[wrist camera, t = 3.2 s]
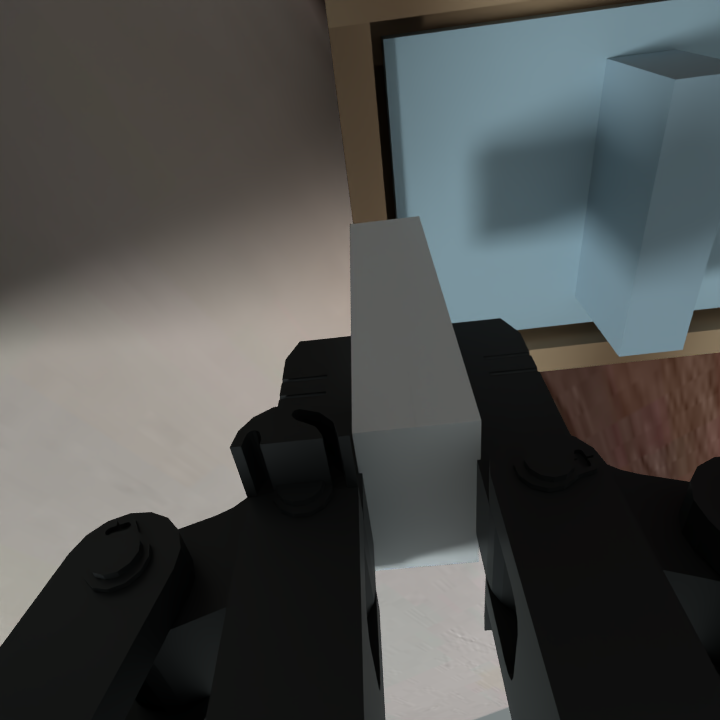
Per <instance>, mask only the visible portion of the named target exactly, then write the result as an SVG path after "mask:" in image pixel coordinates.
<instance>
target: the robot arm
mask: <svg viewBox="0 0 720 720" xmlns="http://www.w3.org/2000/svg"><path fill="white" fill-rule="evenodd" d="M350 280H351V336H347V337H338V338H329V339H319V340H310V341H301V342H299V343H298V345H297V346H296V347H295V348H294V350H293V351H292V352H291V354H290V355H289V356H288V357H287V359H286V360H285V367H284V373H283V379H282V380H283V383H282V385H281V391H280V400H279V403H278V407H273V408H271V409H269V410H267V411H265V412H263V413H261V414H259V415H257V416H255V417H253V418H252V419H251V420H250V421H249V422H248V423H247V424H246V425H244V426H243V427H242V428H241V429H240V430H239V431H238V433H237V435H236V437H235V438H234V440H233V442H232V444H231V446H230V449H231V452H232V455H233V458H234V461H235V463H236V466H237V469H238V472H239V475H240V478H241V480H242V483H243V486H244V489H245V492H246V495H247V498H246V499H245V500H243V501H242V502H240V503H239V504H238V505H236V506H235V507H233V508H231V509H229V510H227V511H225V512H223V513H221V514H219V515H216V516H214V517H211V518H208V519H205V520H203V521H200V522H197V523H195V524H192V525H189V526H186V527H184V528H181V529H177V528H176V527H175V526H174V524H173V523H172V522H171V521H170V520H169V519H168V518H167V517H164V516H161V515H158V514H155V513H152V512H146V513H130V514H127V515H125V516H122V517H119V518H116V519H113V520H111V521H108V522H106V523H105V524H103V525H102V526H100V527H99V528H97V529H95V530H94V531H92V532H91V533H89V534H88V535H86V536H85V537H84V538H83V540H82V541H81V542H80V543H79V544H78V545H77V546H76V547H75V548H74V549H73V550H72V551H71V552H70V553H69V554H68V556H67V557H66V558H65V560H64V561H63V562H62V564H61V565H60V567H59V568H58V569H57V571H56V572H55V573H54V575H53V576H52V577H51V579H50V580H49V581H48V583H47V584H46V586H45V587H44V588H43V590H42V591H41V592H40V594H39V595H38V596H37V598H36V599H35V600H34V602H33V603H32V605H31V606H30V607H29V609H28V610H27V611H26V613H25V614H24V615H23V617H22V618H21V619H20V621H19V622H18V624H17V625H16V626H15V628H14V629H13V630H12V632H11V633H10V634H9V636H8V637H7V638H6V640H5V641H4V643H3V644H2V645H1V647H0V720H385V704H384V686H383V667H382V649H381V630H380V611H379V604H378V599H377V593H376V582H375V571H377V570H389V569H401V568H413V567H424V566H436V565H448V564H460V563H471V562H479V548H480V552H481V557H482V561H483V565H484V569H485V574H486V584H485V613H484V622H485V630H492V632H493V636H494V641H495V645H496V650H497V655H498V659H499V664H500V668H501V673H502V677H503V682H504V686H505V691H506V696H507V700H508V705H509V709H510V713H511V718H512V720H720V457H714V458H712V459H710V460H708V461H707V462H705V463H703V464H701V465H699V466H698V467H697V469H696V471H695V473H694V475H693V477H692V479H691V481H690V482H687V481H681V480H674V479H668V478H661V477H654V476H648V475H641V474H636V473H632V472H628V471H623V470H620V469H617V468H615V467H612V466H610V465H607V464H606V463H605V461H604V460H603V459H602V458H601V456H600V455H599V454H598V453H597V452H596V450H595V449H594V448H593V447H591V446H589V445H588V444H586V443H584V442H583V441H581V440H580V439H578V438H576V437H574V436H571V434H570V433H569V431H568V429H567V427H566V425H565V423H564V421H563V419H562V417H561V415H560V413H559V411H558V409H557V407H556V405H555V403H554V401H553V398H552V396H551V394H550V392H549V390H548V388H547V386H546V384H545V382H544V380H543V378H542V376H541V374H540V372H538V371H537V366H536V364H535V362H534V360H533V358H532V356H531V355H530V353H529V350H528V348H527V345H526V343H525V341H524V339H523V337H522V335H521V333H520V332H519V331H517V330H516V329H514V328H513V327H512V326H510V325H509V324H508V323H506V322H505V321H504V320H502V319H501V318H496V319H487V320H477V321H468V322H459V323H452V322H451V319H450V316H449V312H448V309H447V306H446V303H445V299H444V296H443V293H442V290H441V286H440V283H439V280H438V276H437V273H436V270H435V267H434V263H433V260H432V257H431V253H430V250H429V247H428V244H427V240H426V237H425V234H424V230H423V227H422V224H421V221H420V217H419V216H416V217H408V218H399V219H391V220H382V221H374V222H366V223H357V224H350Z"/></svg>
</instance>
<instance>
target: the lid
mask: <svg viewBox="0 0 720 720" xmlns="http://www.w3.org/2000/svg"><path fill="white" fill-rule="evenodd" d="M381 40H382V53H383V66H384V78H385V91H386V104H387V116H388V129H389V142H390V154H391V167H392V179H393V192H394V205H395V217H396V219H399V218H408V217H416V216H419V217H420V221H421V224H422V227H423V230H424V234H425V237H426V240H427V244H428V247H429V250H430V253H431V257H432V260H433V263H434V267H435V270H436V273H437V276H438V280H439V283H440V286H441V290H442V293H443V296H444V299H445V303H446V306H447V309H448V312H449V316H450V319H451V322H452V323H459V322H468V321H477V320H487V319H496V318H501V319H502V320H504V321H505V322H506V323H508V324H509V325H510V326H512V327H513V328H514V329H516V330H522V329H531V328H540V327H549V326H558V325H567V324H576V323H585V322H594V323H595V325H596V326H597V327H598V329H599V330H600V331H601V333H602V334H603V336H604V337H605V338H606V340H607V341H608V342H609V344H610V345H611V346H612V348H613V349H614V351H615V352H616V353H617V355H618V356H619V357H621V356H630V355H639V354H648V353H658V352H667V351H676V350H683V347H684V343H685V340H686V336H687V333H688V329H689V326H690V322H691V319H692V315H693V312H694V310H701V309H710V308H719V307H720V0H644V1H636V2H629V3H622V4H614V5H607V6H600V7H592V8H585V9H577V10H570V11H563V12H555V13H548V14H541V15H533V16H526V17H519V18H511V19H504V20H497V21H489V22H482V23H475V24H467V25H460V26H453V27H445V28H438V29H431V30H423V31H416V32H409V33H401V34H394V35H387V36H381Z"/></svg>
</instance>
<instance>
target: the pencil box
mask: <svg viewBox="0 0 720 720" xmlns="http://www.w3.org/2000/svg"><path fill="white" fill-rule="evenodd" d="M636 1H644V0H325V6H326V14H327V22H328V30H329V37H330V45H331V53H332V61H333V69H334V77H335V85H336V92H337V100H338V108H339V116H340V124H341V132H342V140H343V147H344V155H345V163H346V171H347V179H348V187H349V195H350V202H351V210H352V218H353V224H357V223H366V222H374V221H382V220H391V219H396V217H395V205H394V192H393V179H392V167H391V154H390V142H389V129H388V116H387V104H386V91H385V78H384V66H383V53H382V40H381V36H387V35H394V34H401V33H409V32H416V31H423V30H431V29H438V28H445V27H453V26H460V25H467V24H475V23H482V22H489V21H497V20H504V19H511V18H519V17H526V16H533V15H541V14H548V13H555V12H563V11H570V10H577V9H585V8H592V7H600V6H607V5H614V4H622V3H629V2H636ZM517 331H519V332H520V333H521V335H522V337H523V339H524V341H525V343H526V345H527V348H528V350H529V353H530V355H531V356H532V358H533V360H534V362H535V364H536V366H537V371H538V372H542V371H551V370H561V369H570V368H579V367H589V366H598V365H607V364H616V363H626V362H635V361H644V360H653V359H663V358H672V357H681V356H690V355H700V354H709V353H718V352H720V307H719V308H710V309H701V310H694V312H693V315H692V319H691V322H690V326H689V329H688V333H687V336H686V340H685V343H684V347H683V350H676V351H667V352H658V353H648V354H639V355H630V356H621V357H619V356H618V355H617V353H616V352H615V351H614V349H613V348H612V346H611V345H610V344H609V342H608V341H607V340H606V338H605V337H604V336H603V334H602V333H601V331H600V330H599V329H598V327H597V326H596V325H595V323H594V322H585V323H576V324H567V325H558V326H549V327H540V328H531V329H522V330H517Z"/></svg>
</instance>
